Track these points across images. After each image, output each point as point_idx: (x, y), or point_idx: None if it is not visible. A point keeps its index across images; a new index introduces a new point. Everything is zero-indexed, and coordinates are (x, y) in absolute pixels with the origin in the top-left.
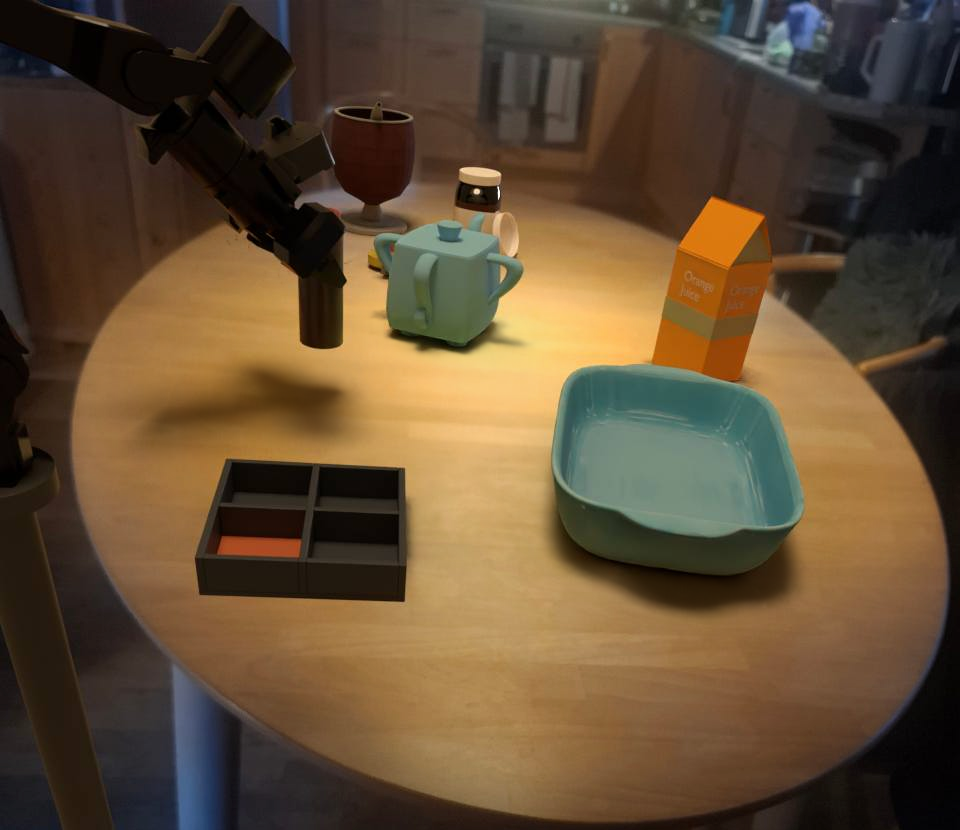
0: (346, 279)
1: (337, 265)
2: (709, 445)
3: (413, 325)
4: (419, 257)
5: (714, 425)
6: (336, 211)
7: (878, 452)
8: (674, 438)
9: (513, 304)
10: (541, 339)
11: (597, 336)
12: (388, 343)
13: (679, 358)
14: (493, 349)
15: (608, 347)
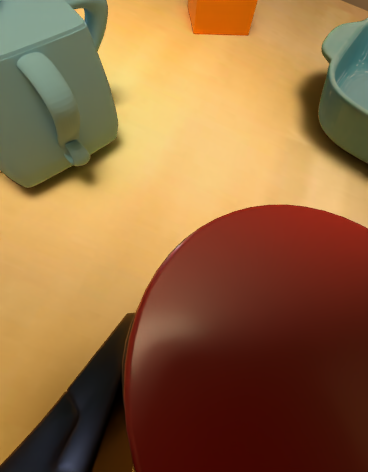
0: None
1: None
2: (365, 80)
3: (61, 165)
4: (13, 73)
5: (355, 62)
6: (300, 223)
7: (355, 14)
8: (353, 92)
9: None
10: (113, 71)
11: (125, 35)
12: (54, 205)
13: (225, 16)
14: (120, 116)
15: (152, 40)
